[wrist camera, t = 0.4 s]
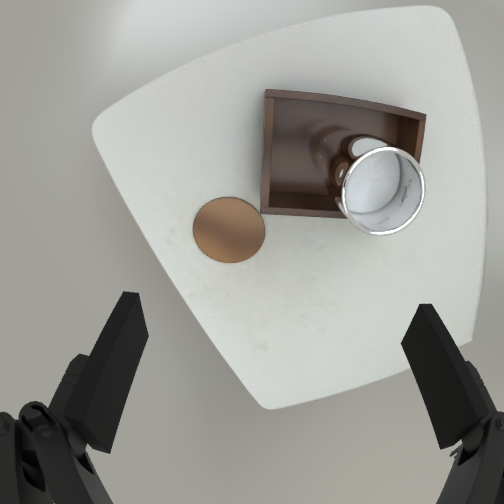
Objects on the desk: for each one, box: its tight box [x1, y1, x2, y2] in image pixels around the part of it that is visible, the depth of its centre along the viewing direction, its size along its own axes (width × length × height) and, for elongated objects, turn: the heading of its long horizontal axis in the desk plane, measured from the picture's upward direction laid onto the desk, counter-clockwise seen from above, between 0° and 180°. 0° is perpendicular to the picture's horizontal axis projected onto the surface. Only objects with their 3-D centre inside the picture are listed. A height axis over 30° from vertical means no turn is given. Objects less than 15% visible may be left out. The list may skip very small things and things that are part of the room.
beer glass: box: [310, 125, 426, 236], centre depth 25 cm, size 7×7×15 cm
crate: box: [260, 89, 426, 219], centre depth 30 cm, size 13×17×5 cm
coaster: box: [193, 197, 265, 263], centre depth 37 cm, size 9×9×1 cm
